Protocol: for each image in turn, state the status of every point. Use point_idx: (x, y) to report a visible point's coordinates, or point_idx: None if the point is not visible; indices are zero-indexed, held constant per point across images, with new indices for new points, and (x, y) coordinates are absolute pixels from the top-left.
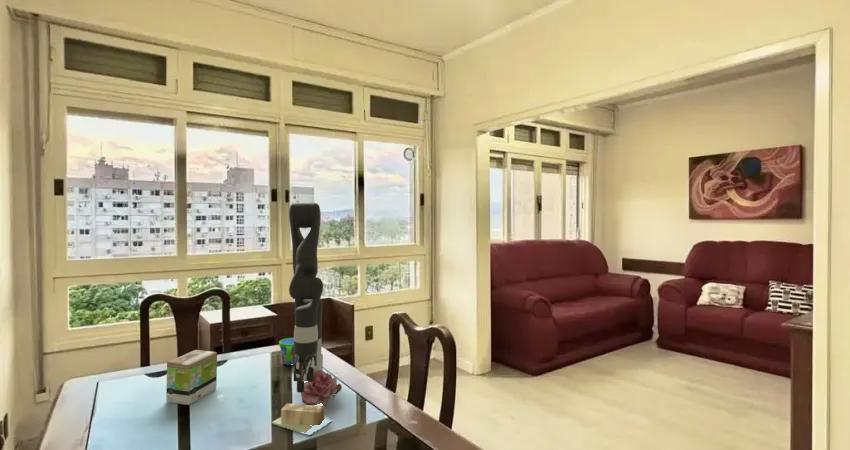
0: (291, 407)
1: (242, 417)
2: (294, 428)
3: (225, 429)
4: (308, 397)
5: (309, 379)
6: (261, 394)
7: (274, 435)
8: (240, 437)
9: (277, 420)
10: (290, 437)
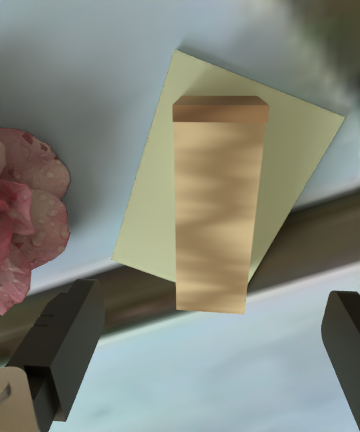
0: (217, 279)
1: (202, 383)
2: (284, 209)
3: (283, 399)
4: (40, 240)
5: (96, 315)
6: None
7: (326, 263)
8: None
9: None
10: (346, 200)
